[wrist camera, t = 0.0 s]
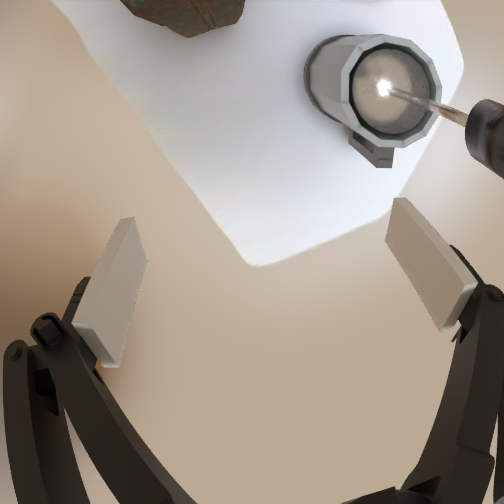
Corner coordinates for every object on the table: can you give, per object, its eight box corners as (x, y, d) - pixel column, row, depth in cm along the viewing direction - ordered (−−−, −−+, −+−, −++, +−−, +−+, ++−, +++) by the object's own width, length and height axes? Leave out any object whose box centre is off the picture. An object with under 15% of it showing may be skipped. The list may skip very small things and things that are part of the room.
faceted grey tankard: (302, 31, 30) (334, 22, 20) (391, 42, 30) (447, 46, 20) (304, 137, 39) (332, 171, 29) (386, 138, 39) (433, 172, 29)
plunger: (350, 43, 22) (492, 55, 7) (428, 57, 22) (569, 100, 7) (349, 130, 27) (461, 227, 13) (422, 135, 27) (540, 222, 13)
